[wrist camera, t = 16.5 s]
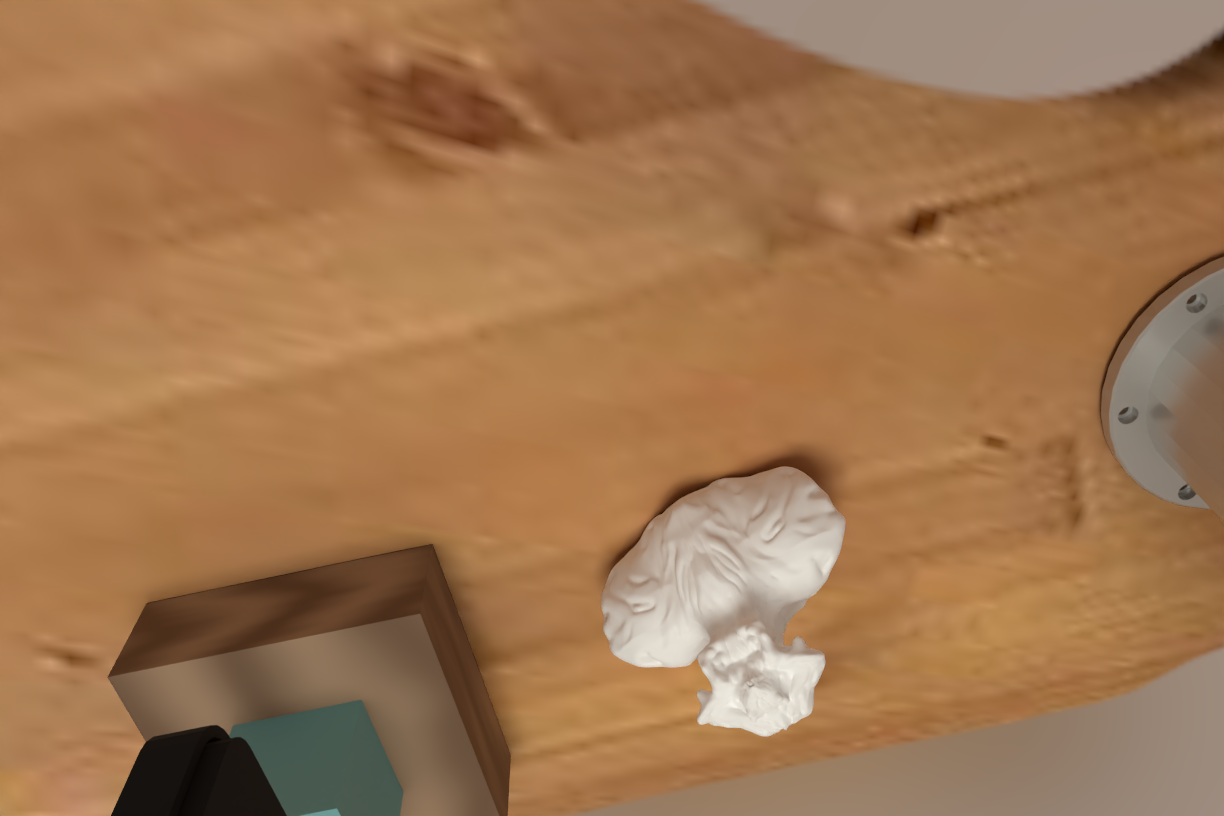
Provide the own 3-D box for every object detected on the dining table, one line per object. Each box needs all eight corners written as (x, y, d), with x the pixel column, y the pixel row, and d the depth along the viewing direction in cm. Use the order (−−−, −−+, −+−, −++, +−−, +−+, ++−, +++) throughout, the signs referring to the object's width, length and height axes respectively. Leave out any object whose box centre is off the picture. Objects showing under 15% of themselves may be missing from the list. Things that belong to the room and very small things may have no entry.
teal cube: (361, 699, 48) (336, 808, 42) (403, 792, 51) (385, 904, 45) (232, 725, 48) (192, 836, 43) (281, 815, 51) (249, 930, 46)
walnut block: (432, 544, 50) (419, 613, 46) (510, 755, 57) (506, 834, 52) (146, 603, 51) (107, 677, 46) (256, 804, 58) (231, 885, 53)
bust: (612, 573, 54) (708, 790, 49) (538, 550, 47) (640, 798, 42) (819, 450, 51) (943, 667, 46) (770, 408, 44) (909, 656, 40)
